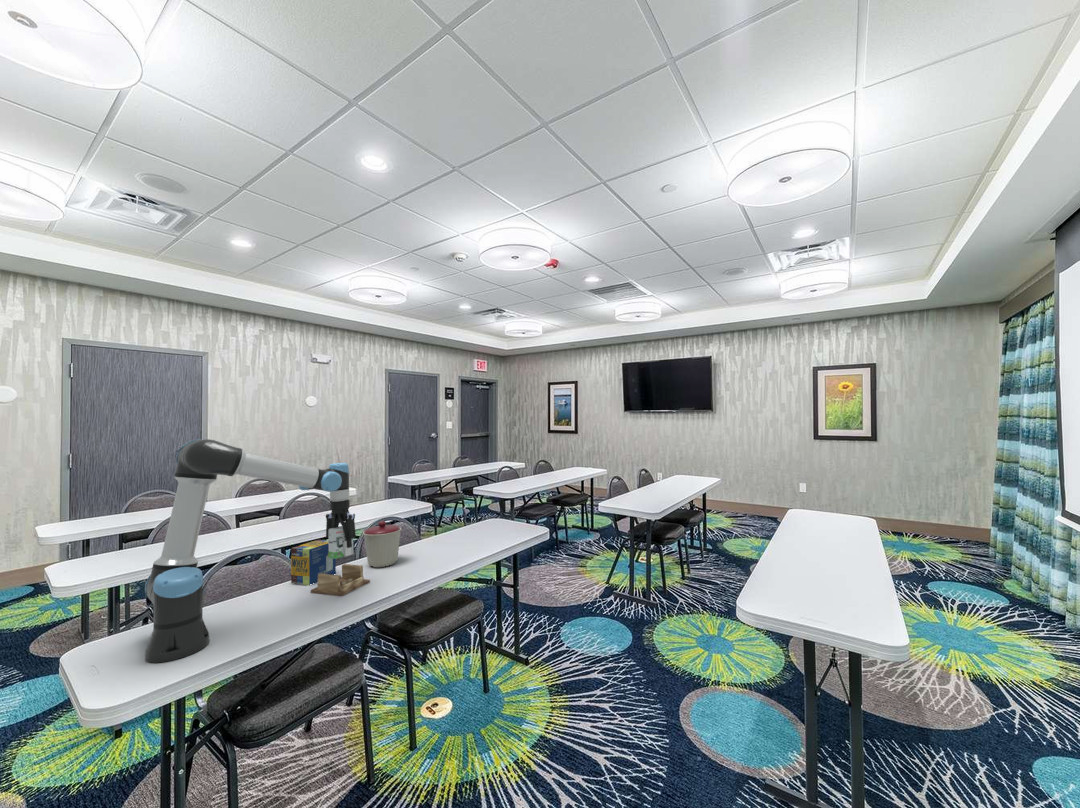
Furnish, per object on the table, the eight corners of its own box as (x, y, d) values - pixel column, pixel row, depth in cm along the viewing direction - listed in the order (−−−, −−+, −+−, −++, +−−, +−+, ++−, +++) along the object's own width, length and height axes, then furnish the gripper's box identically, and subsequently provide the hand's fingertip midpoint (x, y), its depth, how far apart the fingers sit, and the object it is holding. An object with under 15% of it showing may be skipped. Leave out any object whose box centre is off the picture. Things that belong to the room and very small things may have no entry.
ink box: (334, 559, 180) (333, 530, 180) (328, 557, 183) (327, 529, 184) (354, 554, 187) (353, 526, 187) (348, 552, 190) (347, 524, 190)
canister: (383, 557, 226) (382, 516, 228) (410, 560, 219) (409, 518, 220) (354, 568, 210) (353, 523, 211) (382, 572, 202) (381, 525, 204)
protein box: (290, 584, 191) (290, 548, 192) (318, 572, 205) (318, 539, 206) (309, 586, 188) (308, 549, 188) (336, 574, 202) (336, 540, 203)
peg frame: (341, 596, 174) (341, 577, 174) (310, 592, 179) (310, 574, 179) (370, 582, 189) (369, 565, 189) (340, 579, 194) (340, 563, 194)
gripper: (364, 498, 186) (365, 553, 185) (329, 498, 193) (330, 551, 192) (351, 501, 179) (352, 558, 178) (315, 501, 186) (316, 556, 184)
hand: (341, 554), depth 185 cm, fingers closed on ink box, 6 cm apart
